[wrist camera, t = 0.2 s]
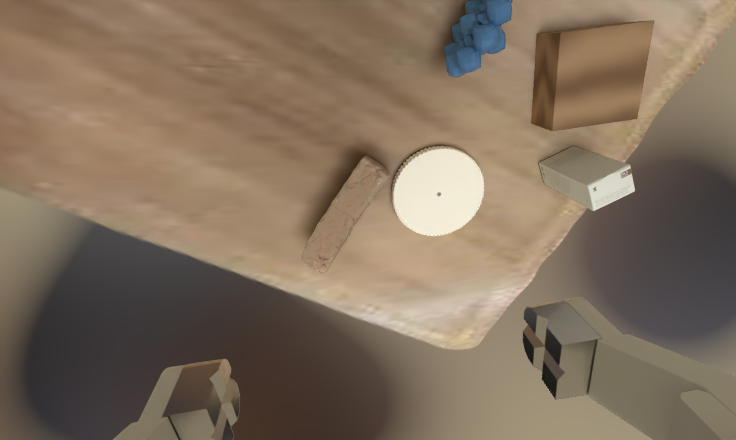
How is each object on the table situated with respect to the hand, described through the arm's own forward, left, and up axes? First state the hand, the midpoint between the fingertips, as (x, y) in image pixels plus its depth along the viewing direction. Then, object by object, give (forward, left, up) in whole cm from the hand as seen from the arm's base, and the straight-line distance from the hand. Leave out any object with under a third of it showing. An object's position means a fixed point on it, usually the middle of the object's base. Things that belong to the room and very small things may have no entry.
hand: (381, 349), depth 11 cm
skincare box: (+13, +34, -47) cm, 59 cm away
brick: (+14, 0, -47) cm, 49 cm away
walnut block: (0, +35, -47) cm, 59 cm away
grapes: (-7, +19, -47) cm, 51 cm away
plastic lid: (+14, +14, -48) cm, 52 cm away
